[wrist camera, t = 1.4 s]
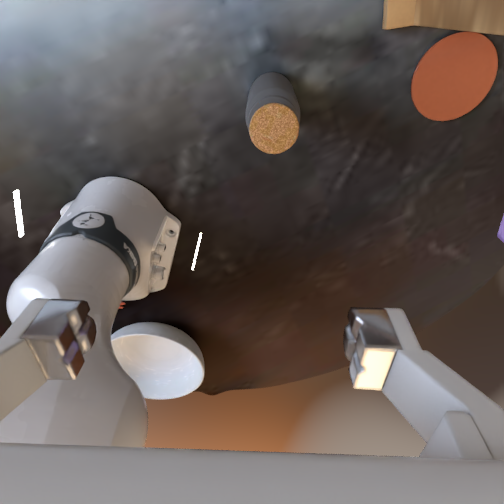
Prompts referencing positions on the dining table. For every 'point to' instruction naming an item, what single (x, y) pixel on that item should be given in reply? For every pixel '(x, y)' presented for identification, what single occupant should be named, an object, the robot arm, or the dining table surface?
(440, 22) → the cup stand
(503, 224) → the purple block
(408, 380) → the robot arm
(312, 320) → the dining table surface
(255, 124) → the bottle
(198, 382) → the serving bowl
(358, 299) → the dining table surface
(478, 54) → the coaster
